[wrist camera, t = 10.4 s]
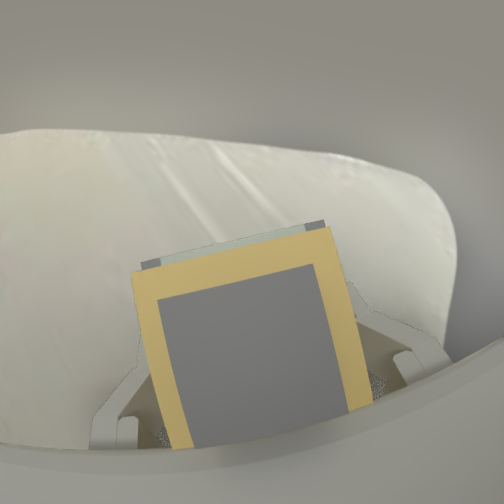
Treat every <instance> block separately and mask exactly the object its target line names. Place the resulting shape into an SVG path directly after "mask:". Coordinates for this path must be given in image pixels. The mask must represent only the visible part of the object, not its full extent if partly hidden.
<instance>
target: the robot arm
mask: <svg viewBox="0 0 504 504" xmlns="http://www.w3.org/2000/svg"><path fill="white" fill-rule="evenodd" d="M346 285H347V289H348V293H349V296H350V300H351V304H352V308H353V312H354V316H355V320H356V324H357V328H358V332H359V336H360V340H361V345H362V349H363V353H364V358H365V362H366V367H367V371H369V372H370V373H372V374H373V375H375V376H376V377H378V378H379V379H381V380H382V381H384V382H385V383H386V387H385V390H384V393H383V396H382V397H379V398H376V399H374V400H373V401H374V403H371V404H368V405H366V406H363V407H360V408H357V409H354V410H351V411H349V414H347V415H344V416H340V417H337V418H334V419H331V420H328V421H325V422H321V423H318V424H314V425H311V426H307V427H304V428H300V429H296V430H292V431H289V432H285V433H280V434H276V435H272V436H268V437H263V438H258V439H253V440H248V441H243V442H238V443H232V444H227V445H220V446H214V447H207V448H200V449H195V448H194V447H190V448H181V449H172V447H165V446H164V445H163V444H162V443H161V442H160V441H159V440H158V439H157V437H158V435H159V433H160V432H161V430H162V428H163V426H164V421H163V418H162V414H161V411H160V407H159V404H158V400H157V396H156V393H155V389H154V385H153V381H152V377H151V373H150V369H149V365H148V361H147V357H146V352H145V348H144V343H143V339H142V334H141V335H140V342H139V349H138V357H137V365H136V368H135V369H132V370H131V371H130V372H129V374H128V375H127V376H126V377H125V378H124V380H123V381H122V382H121V383H120V385H119V386H118V387H117V388H116V390H115V391H114V392H113V393H112V395H111V396H110V397H109V398H108V400H107V401H106V402H105V403H104V405H103V406H102V407H101V408H100V410H99V411H98V412H97V413H96V415H95V416H94V417H93V421H92V428H91V435H90V443H89V450H69V449H53V448H41V447H31V446H23V445H15V444H8V443H2V442H0V504H504V336H503V337H501V338H499V339H498V340H496V341H494V342H493V343H491V344H489V345H488V346H486V347H484V348H482V349H481V350H479V351H477V352H476V353H474V354H472V355H470V356H468V357H466V358H464V359H463V360H461V361H459V362H457V363H455V364H453V363H452V361H451V359H450V358H449V357H448V355H447V354H446V352H445V351H444V349H443V348H442V347H441V345H440V344H439V342H438V341H437V340H436V338H435V337H433V336H430V335H428V334H426V333H424V332H421V331H419V330H417V329H415V328H412V327H410V326H408V325H406V324H403V323H401V322H399V321H396V320H394V319H392V318H390V317H387V316H385V315H383V314H381V313H378V312H373V313H372V312H371V310H370V309H369V307H368V306H367V304H366V303H365V301H364V300H363V298H362V297H361V295H360V294H359V292H358V291H357V289H356V288H355V286H354V285H353V283H351V282H348V283H346Z"/></svg>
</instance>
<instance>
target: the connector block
mask: <svg viewBox="0 0 504 504" xmlns="http://www.w3.org/2000/svg"><path fill="white" fill-rule="evenodd" d="M131 279H132V286H133V292H134V297H135V303H136V309H137V314H138V319H139V324H140V329H141V334H142V339H143V343H144V348H145V352H146V357H147V361H148V365H149V369H150V373H151V377H152V381H153V385H154V389H155V393H156V396H157V400H158V404H159V407H160V411H161V414H162V418H163V421H164V424H165V428H166V431H167V434H168V437H169V440H170V443H171V446H172V449H181V448H190V447H194V448H195V449H200V448H207V447H214V446H220V445H227V444H232V443H238V442H243V441H248V440H253V439H258V438H263V437H268V436H272V435H276V434H280V433H285V432H289V431H292V430H296V429H300V428H304V427H307V426H311V425H314V424H318V423H321V422H325V421H328V420H331V419H334V418H337V417H340V416H344V415H347V414H349V411H351V410H354V409H357V408H360V407H363V406H366V405H368V404H371V403H374V401H373V396H372V391H371V386H370V381H369V376H368V372H367V367H366V362H365V358H364V353H363V349H362V345H361V340H360V336H359V332H358V328H357V324H356V320H355V316H354V312H353V308H352V304H351V300H350V296H349V293H348V289H347V285H346V282H345V278H344V274H343V271H342V267H341V264H340V260H339V257H338V253H337V250H336V247H335V243H334V240H333V237H332V233H331V230H330V227H324V228H320V229H316V230H311V231H307V232H303V233H298V234H294V235H290V236H285V237H281V238H277V239H273V240H268V241H264V242H260V243H255V244H251V245H247V246H243V247H238V248H234V249H230V250H226V251H221V252H217V253H213V254H209V255H205V256H200V257H196V258H192V259H188V260H184V261H179V262H175V263H171V264H167V265H163V266H159V267H154V268H150V269H146V270H142V271H138V272H134V273H131Z"/></svg>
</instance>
